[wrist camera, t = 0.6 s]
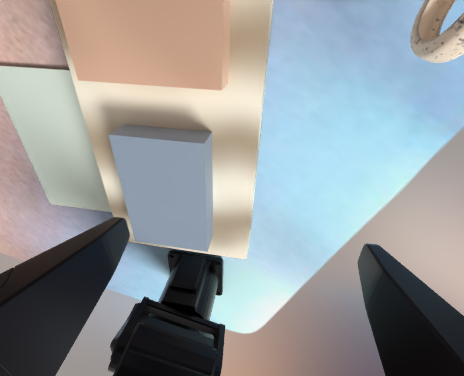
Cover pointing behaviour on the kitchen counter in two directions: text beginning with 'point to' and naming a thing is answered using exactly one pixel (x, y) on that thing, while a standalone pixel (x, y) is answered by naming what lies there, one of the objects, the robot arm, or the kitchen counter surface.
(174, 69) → the terracotta tile
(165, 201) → the grey-blue rectangular block
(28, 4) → the kitchen counter surface
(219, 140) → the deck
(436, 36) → the teacup with lid
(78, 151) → the mat
